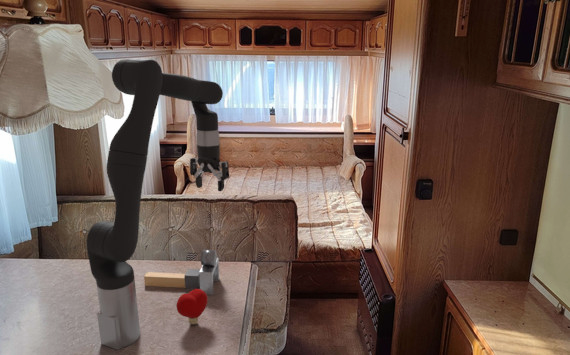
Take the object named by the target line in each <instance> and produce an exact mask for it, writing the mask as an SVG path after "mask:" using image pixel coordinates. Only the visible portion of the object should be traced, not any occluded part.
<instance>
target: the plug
mask: <svg viewBox="0 0 570 355" xmlns="http://www.w3.org/2000/svg"><path fill="white" fill-rule="evenodd" d="M200 270H201V268H188V269H187V271H185V273H177V272H176V273H173V272H151V271H148V272H146V273H145V275H144V276H143V278H144V279H143V280H144V286H145V287H146V286H147V287H164V288H167V287H168V288H184V290H194V289H200V277H199V271H200Z"/></svg>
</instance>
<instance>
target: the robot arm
mask: <svg viewBox="0 0 570 355" xmlns="http://www.w3.org/2000/svg"><path fill="white" fill-rule="evenodd" d="M111 78H112V80H111V81H112V82H113V83H112V84H113V85H114V86H115V88H116V89H117V90H118V91H119V92H121V93H123V94H125V95H129V96H133V101H132V104H131V109H130V112H129V114H128V116H127V118H126V119H125V121H124V122H123V123H122V125H121V126H120V128H119V129H118V130H117V132H116V133H115V134H114V136H113V138H112V139H111V142H110V144H109V150H108V156H107V163H106V173H107V174H106V175H107V179H108V181H109V185H110V188H111V191H112V194H113V197H114V201H115V215H114V221H109V220H100V221H97V222H95V223H94V224H93V225H92V226H91V227H90V229H89V231H88V233H87V237H86V251H87V256H88V262H89V267H90V272H91V275H92V277H93V278H94V279H95V281H96V282H95V283H96V287H97V288H96V291H97V297H98V305H99V311H97V313H96V316H97V322H98V329H99V330H98V332H99V339H100V344H101V345H103V346H107V347H108V348H109V347H110V348H112V349H114V350H117V351H119V350H120V349H122V348H125V347H129V346H130V345H132V344H134V343H136V342H137V340H138V339H139V338H140V336H141V330H140V329H141V328H140V320H139V319H140V318H139V310H138V309H139V308H138V300H137V289H136V280H135V273H134V272H135V270H134V268H133V266H132V265H131V264H130V263H128V262H127V261H128V260H130V259H131V257H133V255H134V253H135V251H136V248H137V245H138V241H139V231H140V229H139V227H140V226H139V225H140V210H141V200H142V190H143V184H144V178H145V172H146V166H147V161H148V155H149V144H150V139H151V134H152V127H153V123H154V118H155V114H156V111H157V110H156V109H157V107H158V102H159V99H160V96H165V97H168V98H173V99H177V100H183V101H187V102H191V103H190V104H191V106H192V108H193V112H194V115H195V118H196V119H195V120H196V136H195V137H196V154H197V157H196V156H193V157H192V158H189V165H190V166H189V174H190V175H191V176H194V178H195V186H196V188H198V189H201V188H202V187H203V177H202V175H203V174H204V173H209V174H212V175H213V176H214V177H215V178H216V179H217V191H218V192H222V191H224V189H225V181H226V180H228V179H230V170H229V169H230V168H229V162H228V160H226V161H221V160H220V159H221V158H220V157H221V152H220V151H221V148H220V146H221V145H220V134H219V133H220V132H219V117H218V113H217V112H215V111H213V110H212V109H211V110H210V109H209V108H208V106H207V105H216V104H218V103H220V101H221V100H222V98H223V94H224V93H223V89H222V87H221V85H220V84H218V83H217V82H214V81H211V80H203V79H202V80H200V79H198V78H197V79H196V78H194V77H191V76H187V75H183V74H178V73H177V74H176V73H168V72H163V70H162V68H161V65H160V64H159V62H158V61H156V60H155V59H152V58H135V57H134V58H133V57H130V58H129V57H128V58H124V59H120V60H118V61H117V62H116V63H115V64H114V66H113V68H112V70H111ZM198 166H199V167H198Z"/></svg>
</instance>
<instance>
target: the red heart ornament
mask: <svg viewBox="0 0 570 355" xmlns="http://www.w3.org/2000/svg"><path fill="white" fill-rule="evenodd" d="M208 300H209V297H208V295H207V294H206V293H205V292H204V291H203V290H201V289H200V288H199V289H191V291H189V292H188V293H183V294H181V295H180V296H179V297H178V299H177V302H176V305H175V306H176V307H175V308H176V311H177V312H178V313H179V314H180V315H181V316H183V317H186V318H187V319H188V324H190V325H192V326H193V325H196V324H197V323H198V322H199V317H201V315H202V314H203V313H204V311H205V310H206V308H207V306H208Z"/></svg>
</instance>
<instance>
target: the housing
mask: <svg viewBox="0 0 570 355" xmlns="http://www.w3.org/2000/svg"><path fill="white" fill-rule="evenodd" d="M200 255H201V256H200V264H201V268H200V269H201V270H200V271H199V277H200V288H199V289H201V290H203V291H204V292H205V293H206V294H207V296H209V295H210V296H211V295H214V281H215V282H218V281H220V259H219V257H218V255H217V250H216V249H202V251H201V254H200Z"/></svg>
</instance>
